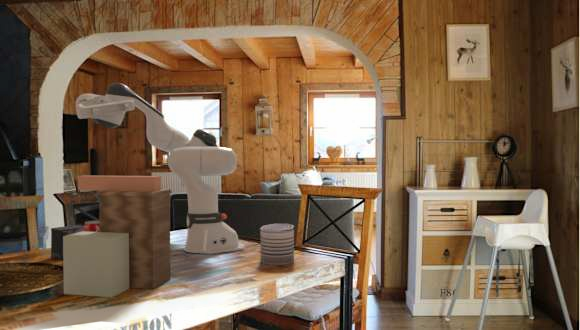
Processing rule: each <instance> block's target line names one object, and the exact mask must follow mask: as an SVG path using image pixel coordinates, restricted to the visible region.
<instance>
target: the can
mask: <svg viewBox="0 0 580 330" xmlns="http://www.w3.org/2000/svg"><path fill="white" fill-rule="evenodd" d="M294 227H295V225H293V224H290V223H270V224H266V225H262V226H261V227H260V228H259V230H260V262H261V263H262V264H266V265H270V266H272V265H273V266H277V265H279V266H282V265H287V264H289V265H290V264H292V263H293V262H294V261H295V230H294V229H295V228H294Z"/></svg>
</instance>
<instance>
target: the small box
mask: <svg viewBox="0 0 580 330" xmlns="http://www.w3.org/2000/svg"><path fill="white" fill-rule="evenodd" d="M83 227H84V225H80V224H74V225H66V226H59V227H51V228H50V231H51V235H50V239H51V240H50V241H51V242H50V253H51V254H50V258H53V259H55V260H62V261H63V236H66V235H70V234H74V233H79V232H83Z"/></svg>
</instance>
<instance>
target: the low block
mask: <svg viewBox="0 0 580 330" xmlns="http://www.w3.org/2000/svg"><path fill="white" fill-rule="evenodd" d="M62 261H63V262H62V263H63V265H62V266H63V268H62V269H63V294H64V295H75V296H87V297H88V296H89V297H101V298H102V297H104V298H113V297H116V296H117V295H120V294H121V293H123V292H126V291H127V290H130V288H129V233H111V232H85V231H83V232H79V233H74V234H70V235H66V236H63V259H62Z"/></svg>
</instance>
